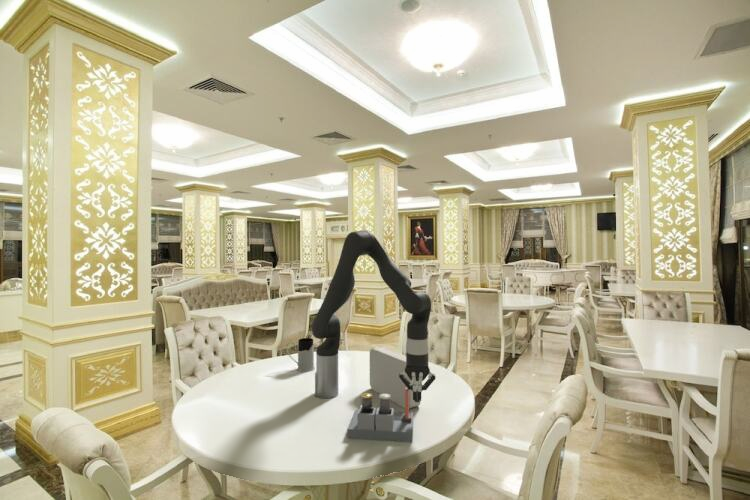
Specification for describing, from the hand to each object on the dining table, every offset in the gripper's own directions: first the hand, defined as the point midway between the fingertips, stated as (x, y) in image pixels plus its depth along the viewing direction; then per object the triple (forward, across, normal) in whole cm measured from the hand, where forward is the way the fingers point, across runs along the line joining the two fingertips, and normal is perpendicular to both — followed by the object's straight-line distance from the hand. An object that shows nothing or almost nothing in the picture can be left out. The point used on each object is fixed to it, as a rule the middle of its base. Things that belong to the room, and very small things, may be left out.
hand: (417, 401), depth 129 cm
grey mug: (+10, -60, +59) cm, 84 cm away
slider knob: (+6, -19, +3) cm, 20 cm away
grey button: (+1, -10, -6) cm, 12 cm away
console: (+9, -12, -2) cm, 15 cm away
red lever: (+6, -3, 0) cm, 7 cm away
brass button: (+1, -16, -6) cm, 18 cm away
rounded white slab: (+10, -10, +27) cm, 30 cm away
